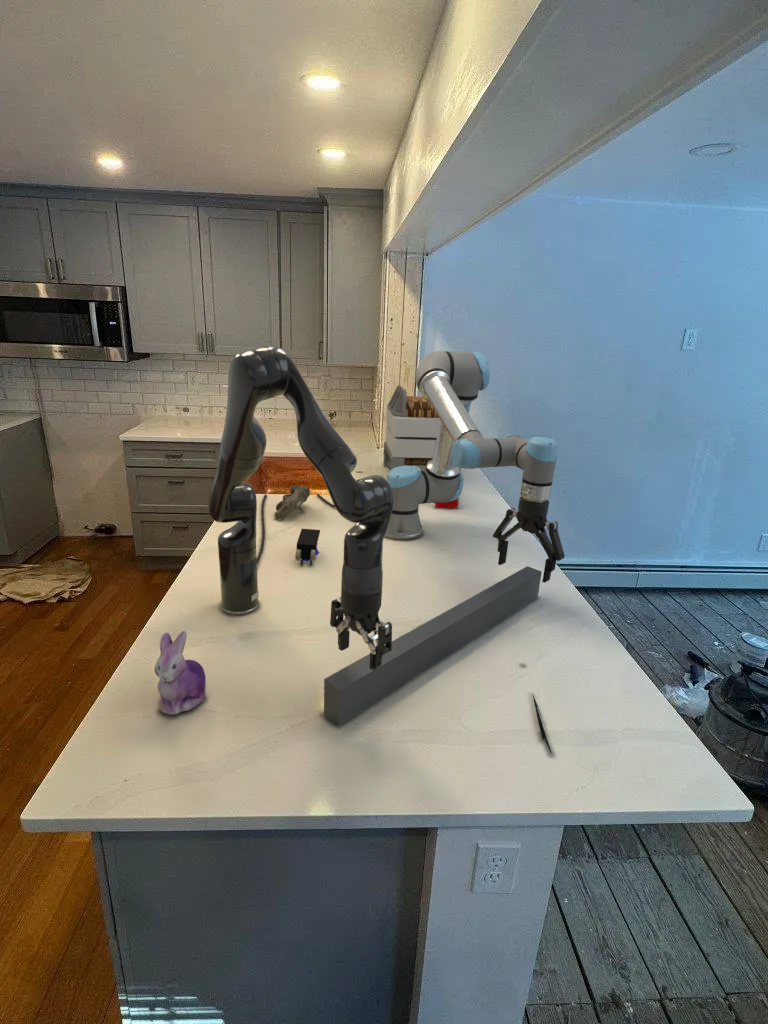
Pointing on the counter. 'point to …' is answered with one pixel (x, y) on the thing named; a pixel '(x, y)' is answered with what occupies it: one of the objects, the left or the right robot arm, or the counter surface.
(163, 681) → the figurine
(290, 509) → the fossil
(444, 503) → the toy
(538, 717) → the feather
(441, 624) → the beam
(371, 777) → the counter surface
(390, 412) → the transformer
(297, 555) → the figurine character
